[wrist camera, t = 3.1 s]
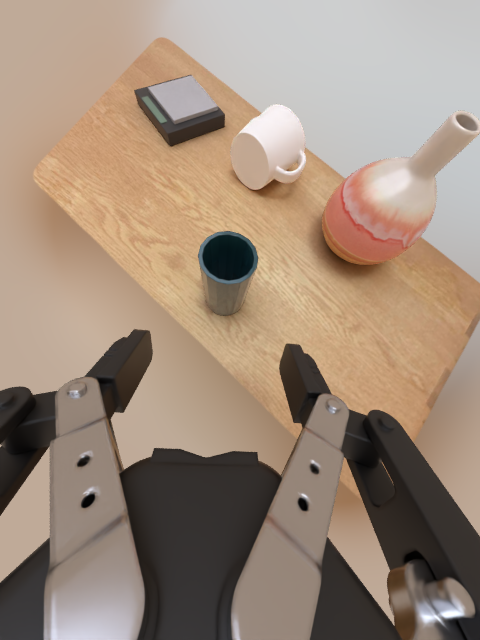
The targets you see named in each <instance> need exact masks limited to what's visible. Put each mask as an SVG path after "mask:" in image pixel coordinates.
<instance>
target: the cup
mask: <svg viewBox="0 0 480 640" xmlns="http://www.w3.org/2000/svg"><path fill="white" fill-rule="evenodd" d="M198 258H199V264H200V270H201V276H202V282H203V288H204V294H205V299H206V303H207V305H208V307H209V308H210V309H211V310H212V311H213V312H214V313H216V314H218V315H223V316H226V315H231V314H234V313H236V312H237V311H238V310H239V309H240V308H241V306H242V304H243V303H244V300H245V297H246V295H247V292H248V289H249V287H250V284H251V281H252V279H253V276H254V273H255V271H256V268H257V263H258V255H257V252H256V248H255V247H254V245H253V244H252V243H251V241H250V240H249V239H247V238H246V237H244V236H243V235H241V234H239V233H235V232H230V231H224V232H217V233H215V234H213V235H211V236H209V237H207V239H206V240H205V241H204V242H203V243H202V244H201V246H200V250H199V254H198Z"/></svg>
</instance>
